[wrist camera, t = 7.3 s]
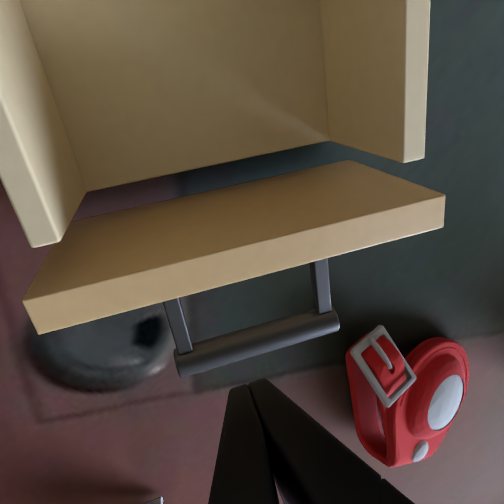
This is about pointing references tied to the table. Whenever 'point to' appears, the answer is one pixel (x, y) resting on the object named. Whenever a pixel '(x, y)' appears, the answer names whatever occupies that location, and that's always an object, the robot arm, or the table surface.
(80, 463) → the table surface
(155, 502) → the caliper
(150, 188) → the table surface
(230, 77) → the drawer
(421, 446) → the tracker holder
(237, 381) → the table surface
